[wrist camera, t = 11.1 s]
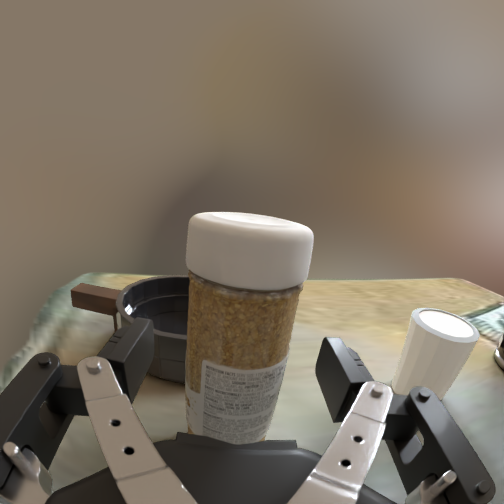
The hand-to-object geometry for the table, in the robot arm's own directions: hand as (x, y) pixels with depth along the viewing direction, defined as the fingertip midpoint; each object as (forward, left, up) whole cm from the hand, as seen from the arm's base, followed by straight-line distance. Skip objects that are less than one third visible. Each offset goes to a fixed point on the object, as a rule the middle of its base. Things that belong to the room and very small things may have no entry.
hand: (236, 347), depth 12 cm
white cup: (-17, -4, -8) cm, 19 cm away
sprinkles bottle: (0, +1, -8) cm, 8 cm away
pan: (+4, -11, -8) cm, 14 cm away
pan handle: (+13, -11, -8) cm, 19 cm away
